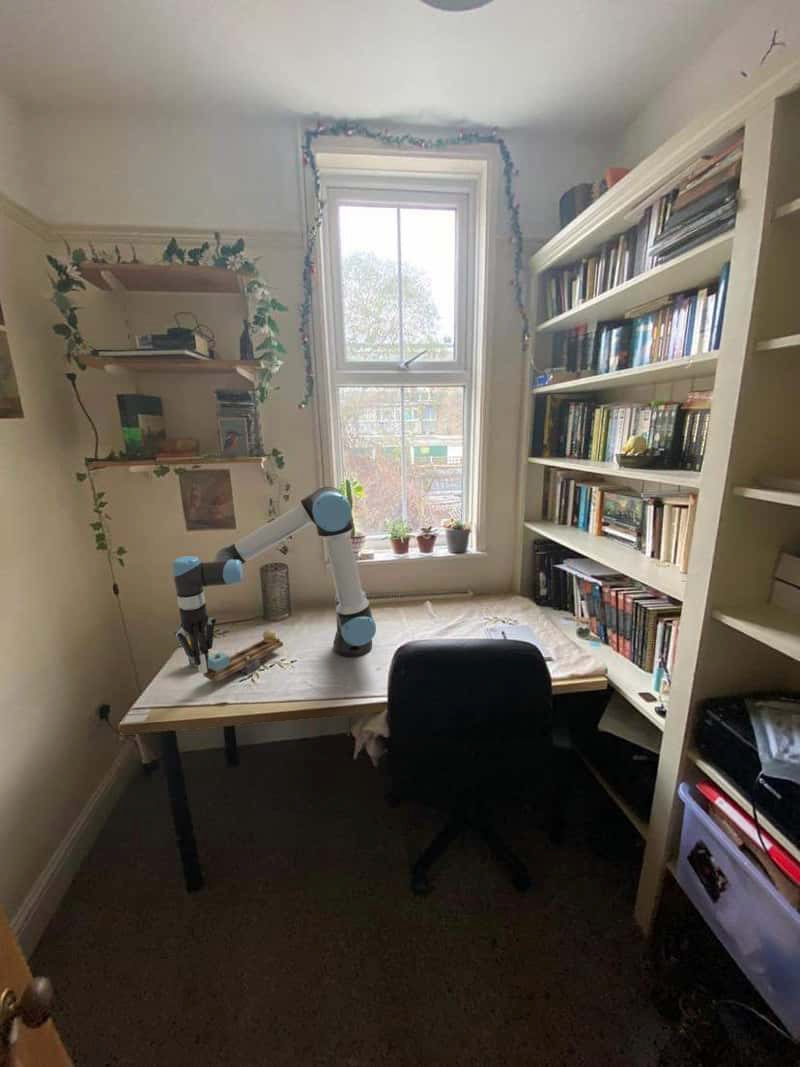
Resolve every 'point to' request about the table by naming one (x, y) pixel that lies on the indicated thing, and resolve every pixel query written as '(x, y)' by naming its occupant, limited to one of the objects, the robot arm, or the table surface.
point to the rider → (218, 661)
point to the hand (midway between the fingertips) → (203, 671)
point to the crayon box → (191, 660)
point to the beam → (247, 657)
